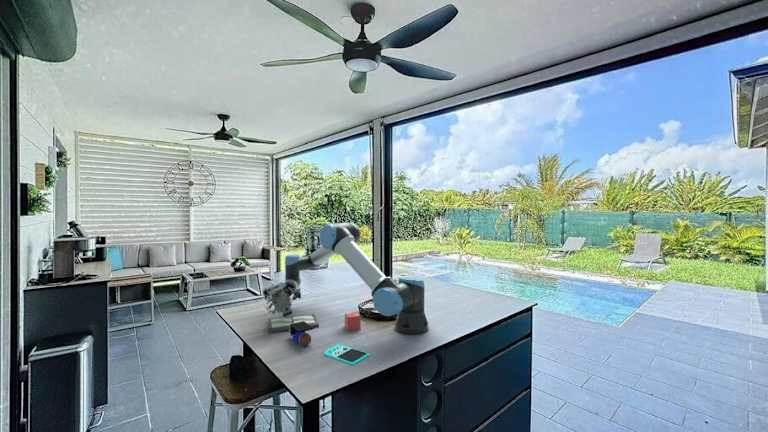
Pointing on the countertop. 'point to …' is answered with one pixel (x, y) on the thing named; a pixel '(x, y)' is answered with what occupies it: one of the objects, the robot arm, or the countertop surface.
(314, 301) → the countertop surface
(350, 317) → the red die
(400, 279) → the robot arm
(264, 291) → the figurine
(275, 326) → the divided rectangular tray
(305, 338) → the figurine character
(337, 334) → the countertop surface
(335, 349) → the handheld game console
